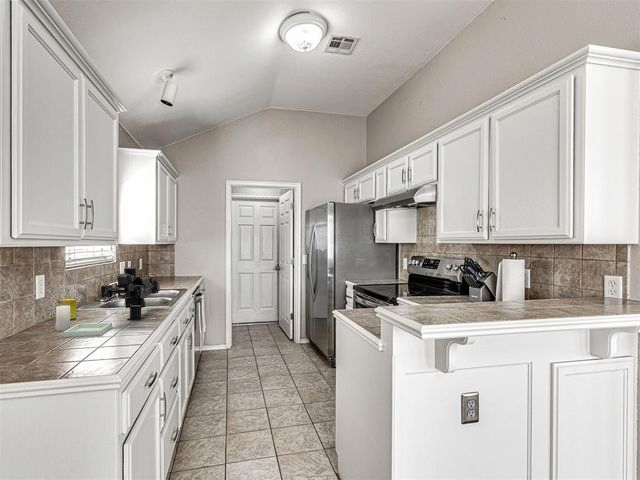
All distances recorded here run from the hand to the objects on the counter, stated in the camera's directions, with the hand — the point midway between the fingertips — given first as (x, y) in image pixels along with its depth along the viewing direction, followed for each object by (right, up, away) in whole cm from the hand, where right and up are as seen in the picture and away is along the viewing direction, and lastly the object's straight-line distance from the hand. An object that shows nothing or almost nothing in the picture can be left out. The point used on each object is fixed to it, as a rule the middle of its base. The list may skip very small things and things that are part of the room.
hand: (114, 295), depth 171 cm
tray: (-10, -16, -4) cm, 19 cm away
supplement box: (-37, -16, +20) cm, 44 cm away
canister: (-25, -16, +1) cm, 30 cm away
